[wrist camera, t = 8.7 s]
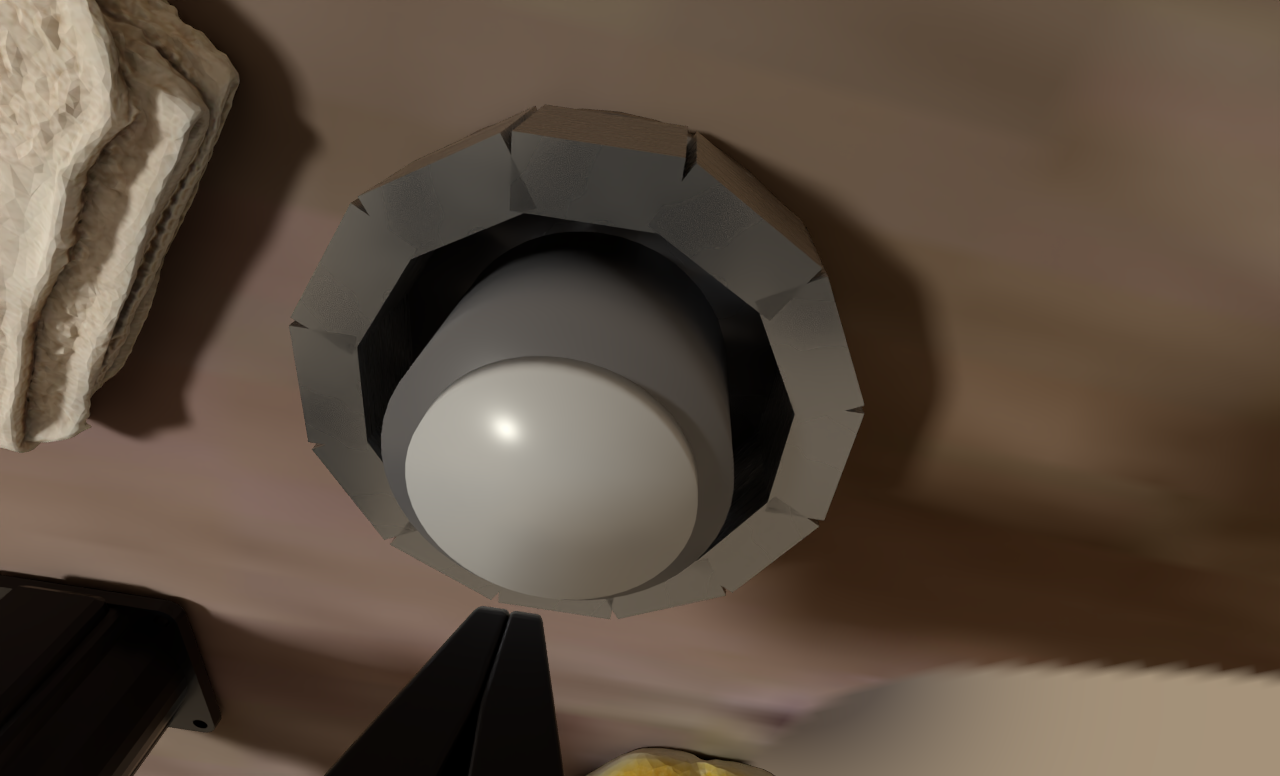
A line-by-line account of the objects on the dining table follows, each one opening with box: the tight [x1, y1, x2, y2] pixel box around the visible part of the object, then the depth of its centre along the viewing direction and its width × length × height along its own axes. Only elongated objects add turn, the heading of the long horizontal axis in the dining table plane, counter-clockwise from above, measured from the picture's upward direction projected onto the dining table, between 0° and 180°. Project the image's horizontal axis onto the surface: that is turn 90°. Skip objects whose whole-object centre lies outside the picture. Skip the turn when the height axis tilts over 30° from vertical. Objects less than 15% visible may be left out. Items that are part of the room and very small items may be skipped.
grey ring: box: [289, 104, 864, 619], centre depth 14 cm, size 10×10×3 cm
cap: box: [381, 231, 734, 600], centre depth 13 cm, size 6×6×4 cm
